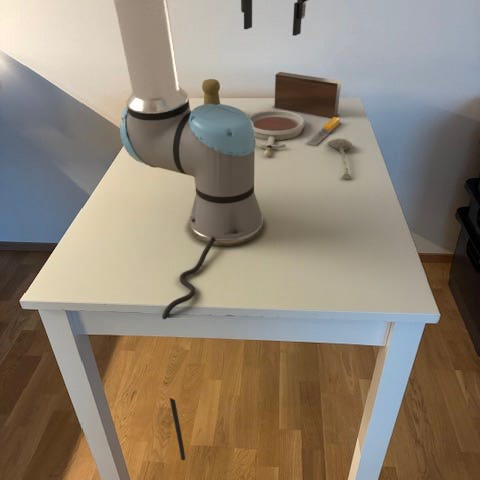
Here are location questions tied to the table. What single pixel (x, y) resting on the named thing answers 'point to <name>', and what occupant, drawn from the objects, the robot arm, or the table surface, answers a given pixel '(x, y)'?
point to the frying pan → (276, 127)
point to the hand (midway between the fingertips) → (271, 31)
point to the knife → (325, 130)
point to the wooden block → (307, 94)
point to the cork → (211, 91)
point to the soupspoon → (342, 152)
